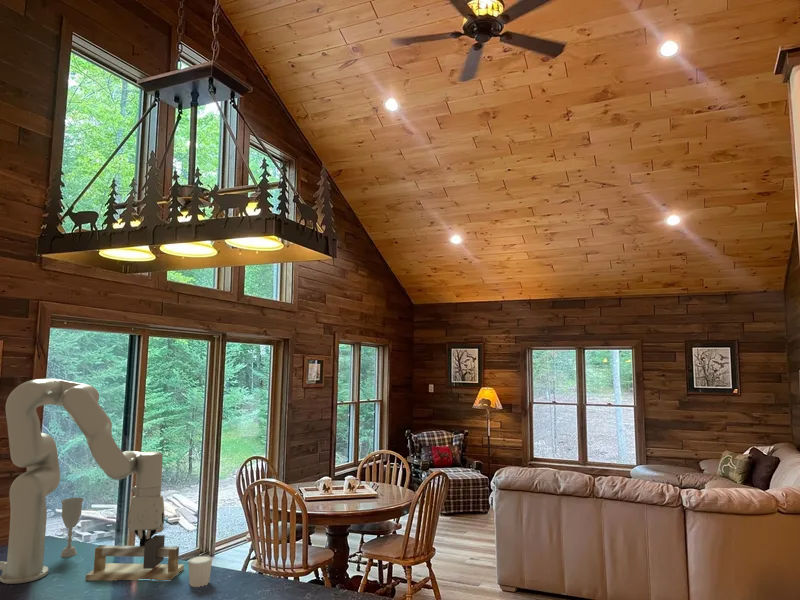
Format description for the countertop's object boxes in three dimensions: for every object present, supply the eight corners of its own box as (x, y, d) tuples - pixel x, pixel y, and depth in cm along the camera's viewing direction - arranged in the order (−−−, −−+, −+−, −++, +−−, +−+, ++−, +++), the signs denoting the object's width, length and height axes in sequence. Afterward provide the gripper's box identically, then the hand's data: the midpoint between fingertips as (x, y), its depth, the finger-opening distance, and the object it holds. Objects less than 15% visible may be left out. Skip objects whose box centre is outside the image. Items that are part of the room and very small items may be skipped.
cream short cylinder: (203, 588, 168) (204, 564, 169) (182, 586, 170) (183, 562, 170) (215, 580, 175) (216, 556, 176) (195, 578, 176) (196, 554, 177)
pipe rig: (85, 580, 174) (87, 551, 174) (102, 568, 184) (104, 540, 184) (170, 581, 173) (172, 552, 174) (183, 569, 183) (184, 542, 184)
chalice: (63, 551, 199) (67, 497, 201) (83, 550, 200) (87, 497, 201) (52, 558, 192) (56, 503, 193) (74, 557, 192) (78, 502, 194)
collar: (143, 568, 175) (144, 542, 176) (154, 559, 183) (155, 535, 183) (153, 568, 175) (154, 542, 176) (163, 559, 183) (164, 535, 183)
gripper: (119, 494, 180) (115, 554, 179) (166, 494, 180) (163, 555, 178) (130, 488, 188) (127, 546, 186) (176, 489, 188) (173, 547, 186)
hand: (145, 550), depth 182 cm, fingers closed
